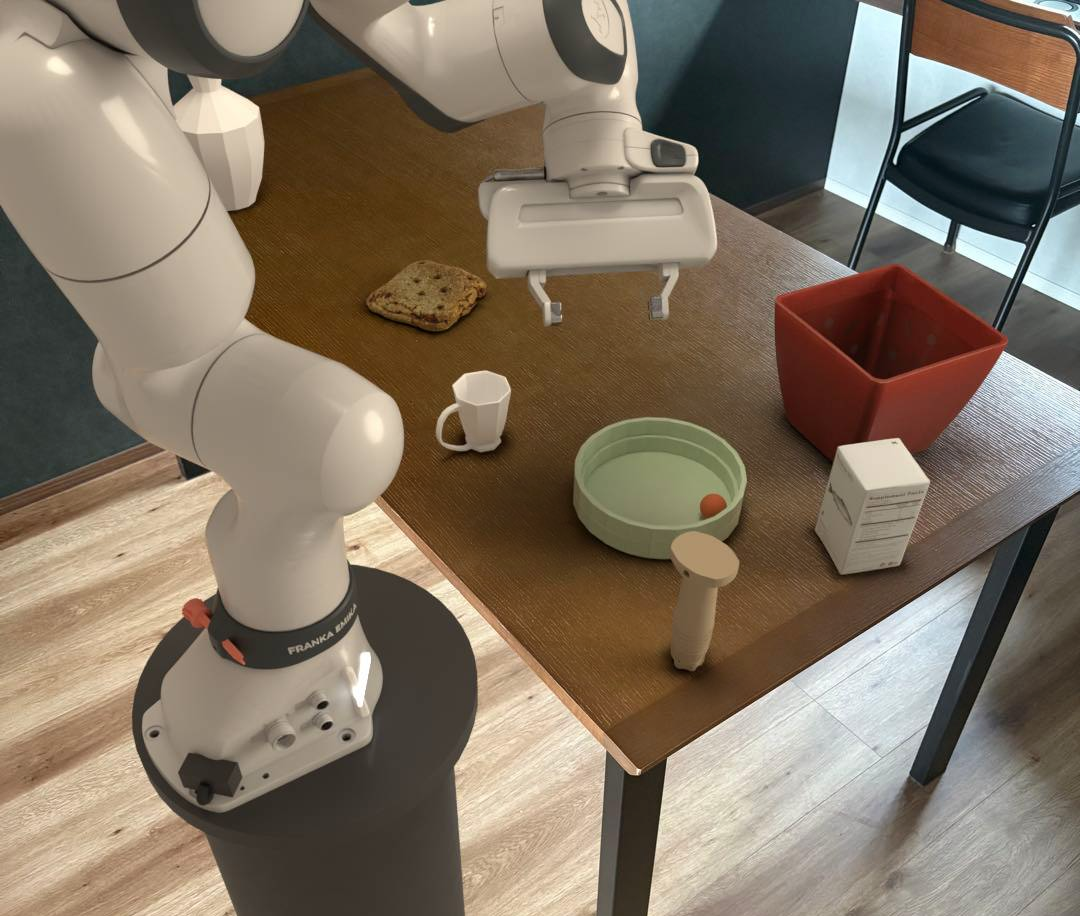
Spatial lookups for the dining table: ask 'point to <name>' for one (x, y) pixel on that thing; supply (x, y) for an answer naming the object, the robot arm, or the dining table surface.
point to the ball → (712, 505)
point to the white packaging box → (871, 505)
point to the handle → (698, 594)
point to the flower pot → (878, 359)
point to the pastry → (427, 295)
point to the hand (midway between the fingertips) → (606, 322)
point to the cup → (478, 410)
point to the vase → (224, 139)
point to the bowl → (655, 484)
